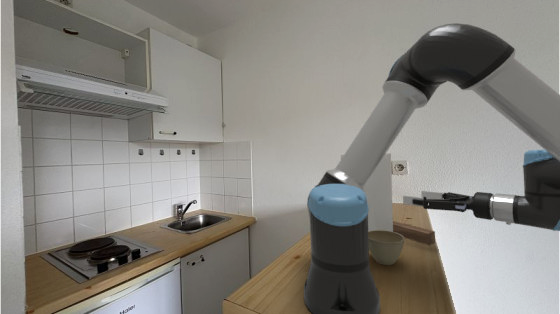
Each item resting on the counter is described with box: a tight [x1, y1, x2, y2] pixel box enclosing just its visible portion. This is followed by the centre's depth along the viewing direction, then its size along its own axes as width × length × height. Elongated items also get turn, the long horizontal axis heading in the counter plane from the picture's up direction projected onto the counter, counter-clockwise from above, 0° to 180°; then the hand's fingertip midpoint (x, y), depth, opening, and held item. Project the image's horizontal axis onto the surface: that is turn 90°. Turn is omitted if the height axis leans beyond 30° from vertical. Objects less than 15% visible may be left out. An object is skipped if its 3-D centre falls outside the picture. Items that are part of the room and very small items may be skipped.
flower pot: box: [368, 230, 405, 266], centre depth 63 cm, size 10×10×7 cm
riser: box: [340, 152, 394, 232], centre depth 82 cm, size 10×14×30 cm
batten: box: [393, 220, 436, 246], centre depth 84 cm, size 4×24×4 cm, turn 30°
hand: (413, 196), depth 80 cm, fingers open, 13 cm apart
